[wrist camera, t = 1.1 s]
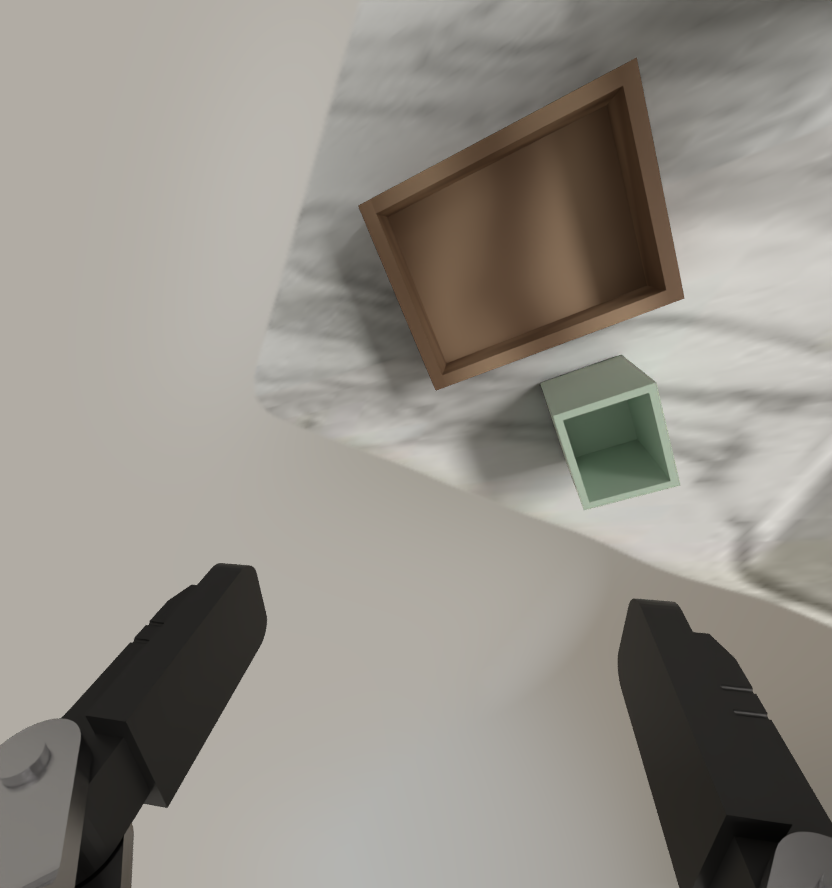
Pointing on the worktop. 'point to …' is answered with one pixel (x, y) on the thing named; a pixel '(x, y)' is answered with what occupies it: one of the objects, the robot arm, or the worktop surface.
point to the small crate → (611, 432)
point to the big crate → (531, 233)
